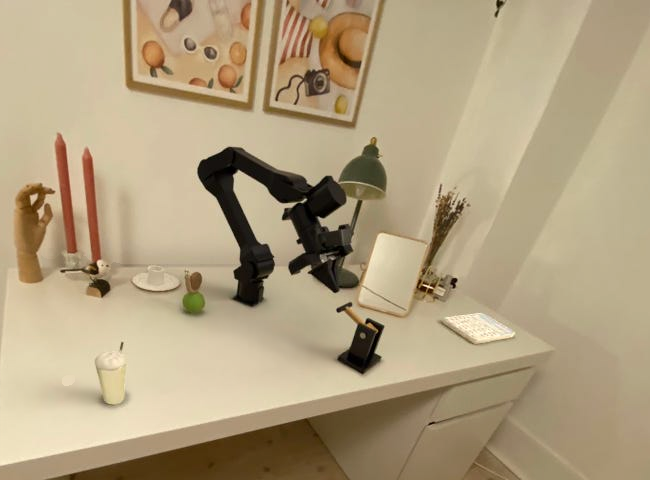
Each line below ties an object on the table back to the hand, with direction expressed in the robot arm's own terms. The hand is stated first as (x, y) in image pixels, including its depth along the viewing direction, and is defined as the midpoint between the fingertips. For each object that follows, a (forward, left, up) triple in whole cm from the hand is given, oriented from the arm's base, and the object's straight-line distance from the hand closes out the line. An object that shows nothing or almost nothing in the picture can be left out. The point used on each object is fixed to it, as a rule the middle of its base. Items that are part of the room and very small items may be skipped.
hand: (337, 292), depth 86 cm
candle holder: (-49, -6, -13) cm, 51 cm away
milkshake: (-22, -45, -13) cm, 51 cm away
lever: (+6, -1, -5) cm, 8 cm away
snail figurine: (-32, -12, -13) cm, 36 cm away
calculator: (+36, +42, -13) cm, 57 cm away
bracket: (+10, -2, -13) cm, 17 cm away
